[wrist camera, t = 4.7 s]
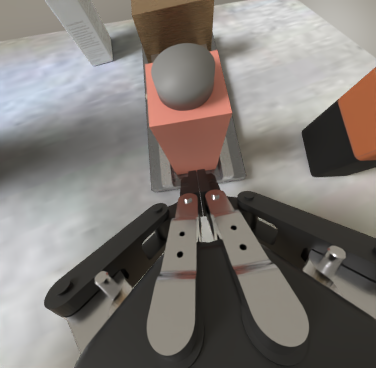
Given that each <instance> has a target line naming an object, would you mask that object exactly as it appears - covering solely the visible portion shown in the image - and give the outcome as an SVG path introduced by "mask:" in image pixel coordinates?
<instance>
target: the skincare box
mask: <svg viewBox="0 0 376 368" xmlns="http://www.w3.org/2000/svg"><path fill="white" fill-rule="evenodd" d="M45 2H46V3H47V5H48V6H49V7H50V9H51V10H52V11H53V13H54V14H55V15H56V17H57V18H58V20H59V21H60V22H61V24H62V25H63V26H64V28H65V29H66V31H67V32H68V33H69V35H70V36H71V37H72V39H73V40H74V41H75V43H76V44H77V46H78V47H79V48H80V50H81V51H82V52H83V54H84V55H85V56H86V58H87V59H88V61H89V62H90V63H91V65H92V66H96V65H100V64H103V63H107V62H111V61H113V55H112V46H111V38H110V36H109V34H108V32H107V30H106V28H105V26H104V24H103V22H102V20H101V18H100V16H99V14H98V12H97V10H96V8H95V6H94V5H93V3H92V1H91V0H45Z"/></svg>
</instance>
